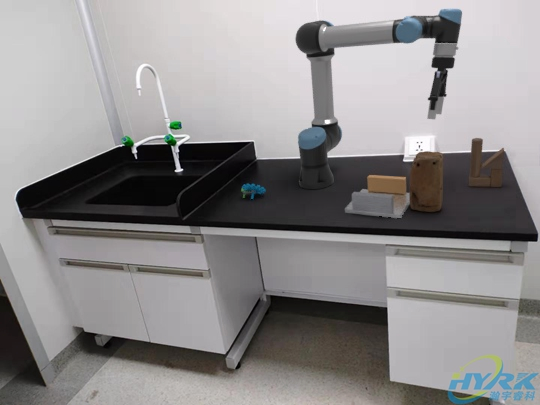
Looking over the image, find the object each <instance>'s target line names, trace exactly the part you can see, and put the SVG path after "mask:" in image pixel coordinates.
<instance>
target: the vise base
mask: <svg viewBox="0 0 540 405" xmlns="http://www.w3.org/2000/svg"><path fill="white" fill-rule="evenodd" d="M409 194H410V193H409V192H406V193H405V194H397V193H385V192H373V191H368V188H367V189H366V188H362V189H361V190H360V191H353V192H352V193H351V201H350V202H348V203H349V204H347V205H346V206H345V208H344V213H345V214H352V215H353V214H354V215H363V216H371V217H379V216H382V218H388V217H391V218H390V219H397V218H401V219H402V217H403V216H404V214H405V213H406V211H407V209H408V207H409V206H410V199H409ZM404 212H405V213H404ZM402 215H403V216H402Z"/></svg>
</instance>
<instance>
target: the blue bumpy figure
mask: <svg viewBox="0 0 540 405" xmlns="http://www.w3.org/2000/svg"><path fill="white" fill-rule="evenodd" d="M240 192H242V194H243V196H242V199H243V198H245V199H246V195H249V194H250V195H251V196H250V200H251V199H253V200H254V197H255V195H256V194H257V195H263V194H265V192H266V188H265V187H264V186H261V185H260V184H257V185H256V184H255V183H251V184H250V183H246V184H243V185H242V186H241V191H240Z"/></svg>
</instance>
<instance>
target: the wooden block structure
mask: <svg viewBox="0 0 540 405" xmlns="http://www.w3.org/2000/svg"><path fill="white" fill-rule="evenodd" d="M483 141H484V139H483V138H481V137H475V138H472V139H471V149H470V165H469V168H470V169H469V175H468V187H479V188H480V187H481V188H482V187H486V188H487V187H488V188H489V187H491V188H501V187H502V183H503V182H502V181H503V169H504V158H505V149H504V148H505V147H502V148H501V149H499V150H498V151H497V152H496V153H495V154H493V155H492V156H490V157H489V158H488V159H487V160H486V161H484V162H483V163H482V159H483V158H482V157H483ZM481 170H490V174H489V175H486V174H482V172H481Z"/></svg>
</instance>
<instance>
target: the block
mask: <svg viewBox="0 0 540 405" xmlns="http://www.w3.org/2000/svg"><path fill="white" fill-rule="evenodd" d="M412 160H413V161H412V164H411V169H410V174H409V192H408V193H410V194H409V199H410V204H409V206H410V210H413V211H419V212H426V213H427V212H428V213H434V212H439V211H440V210H441V209H442V205H443V196H444V193H443V192H444V156H443V152H440V151H430V150H428V151H419V152H418V153H417V154H416V155H415V157H414V158H413V159H412Z"/></svg>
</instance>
